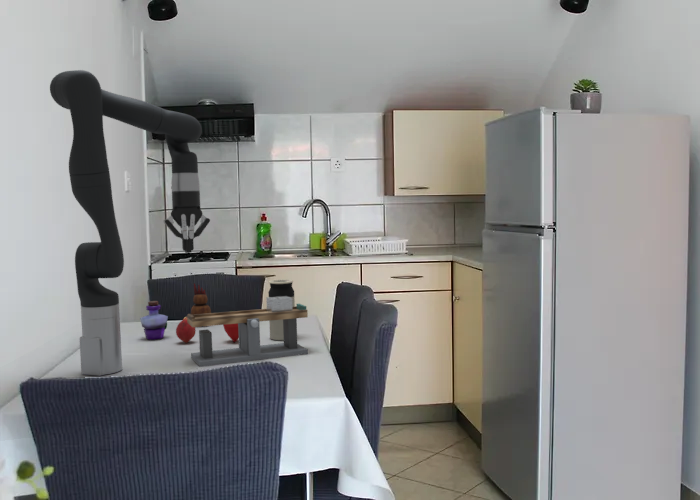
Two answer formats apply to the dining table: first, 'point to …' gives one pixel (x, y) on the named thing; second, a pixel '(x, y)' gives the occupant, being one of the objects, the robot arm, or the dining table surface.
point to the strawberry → (232, 331)
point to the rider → (279, 304)
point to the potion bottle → (154, 322)
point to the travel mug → (279, 290)
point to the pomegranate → (185, 331)
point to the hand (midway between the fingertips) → (188, 252)
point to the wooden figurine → (200, 302)
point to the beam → (244, 316)
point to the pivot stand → (249, 345)
